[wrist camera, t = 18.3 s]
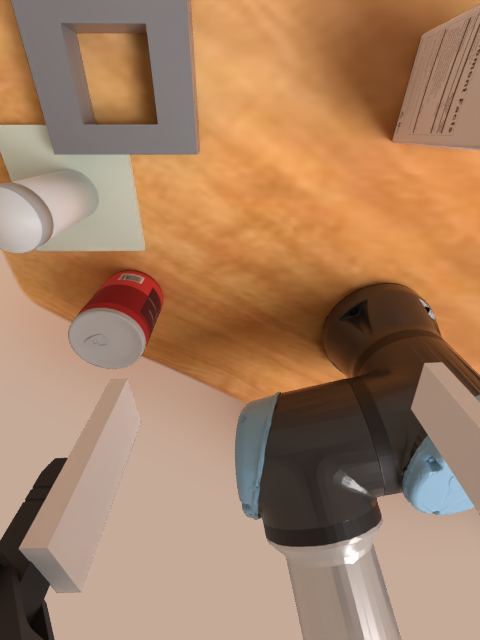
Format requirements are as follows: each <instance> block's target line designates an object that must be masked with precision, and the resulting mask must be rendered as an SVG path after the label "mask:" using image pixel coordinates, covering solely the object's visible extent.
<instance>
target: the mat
mask: <svg viewBox="0 0 480 640" xmlns="http://www.w3.org/2000/svg"><path fill="white" fill-rule="evenodd" d="M0 152H1V155H2V157H3V160H4V163H5V166H6V168H7V171H8V174H9V177H10V180H11V182H14V181H18V180H23V179H27V178H31V177H35V176H40V175H44V174H48V173H53V172H57V171H61V170H66V169H72V170H76V171H79V172H81V173H83V174H84V175H85V176H87V177H88V178H89V179H90V180H91V181H92V183H93V184H94V186H95V188H96V190H97V193H98V198H99V202H98V207H97V209H96V210H95V212H94V213H93V214H92V215H90V216H88V217H86V218H85V219H83V220H81V221H80V222H78V223H76V224H74V225H73V226H71V227H69V228H68V229H66V230H64V231H63V232H61V233H59V234H57V235H56V236H54V237H52V238H51V239H49V240H48V241H47V242H46V243H45V244H43V245H41V246H40V247H38V248H36V251H144V250H145V249H146V247H145V241H144V235H143V229H142V223H141V217H140V211H139V205H138V199H137V193H136V187H135V181H134V175H133V169H132V163H131V157H130V155H54V151H53V148H52V144H51V141H50V137H49V133H48V130H47V126H46V125H0Z"/></svg>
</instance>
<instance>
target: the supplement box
mask: <svg viewBox="0 0 480 640" xmlns="http://www.w3.org/2000/svg"><path fill="white" fill-rule="evenodd" d="M392 141H393V142H394V143H402V144H411V145H421V146H430V147H440V148H452V149H464V150H477V151H480V4H479V5H477V6H475V7H473V8H472V9H470V10H468V11H466V12H464V13H462V14H460V15H458V16H456V17H454V18H452V19H450V20H448V21H447V22H445V23H443V24H441V25H439V26H437V27H435V28H434V29H432V30H429V31H428V32H426V33H424V34H423V35H422V37H421V41H420V44H419V48H418V51H417V55H416V58H415V62H414V65H413V69H412V72H411V76H410V79H409V83H408V86H407V90H406V94H405V97H404V101H403V104H402V108H401V111H400V115H399V118H398V122H397V125H396V129H395V132H394V136H393V140H392Z"/></svg>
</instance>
